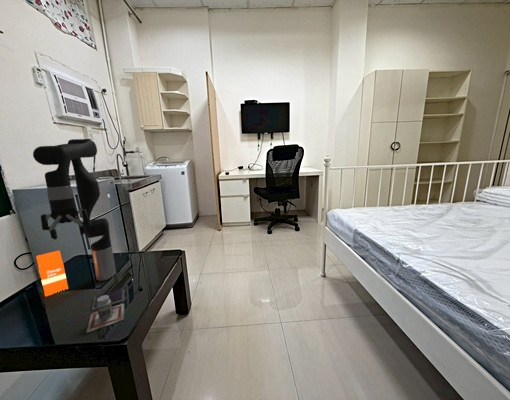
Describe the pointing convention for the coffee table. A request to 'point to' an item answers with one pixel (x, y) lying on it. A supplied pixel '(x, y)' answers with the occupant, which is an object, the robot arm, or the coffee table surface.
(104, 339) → the coffee table surface
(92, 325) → the marked board
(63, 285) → the orange juice
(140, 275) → the coffee table surface
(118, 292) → the ink pad
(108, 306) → the pill bottle
